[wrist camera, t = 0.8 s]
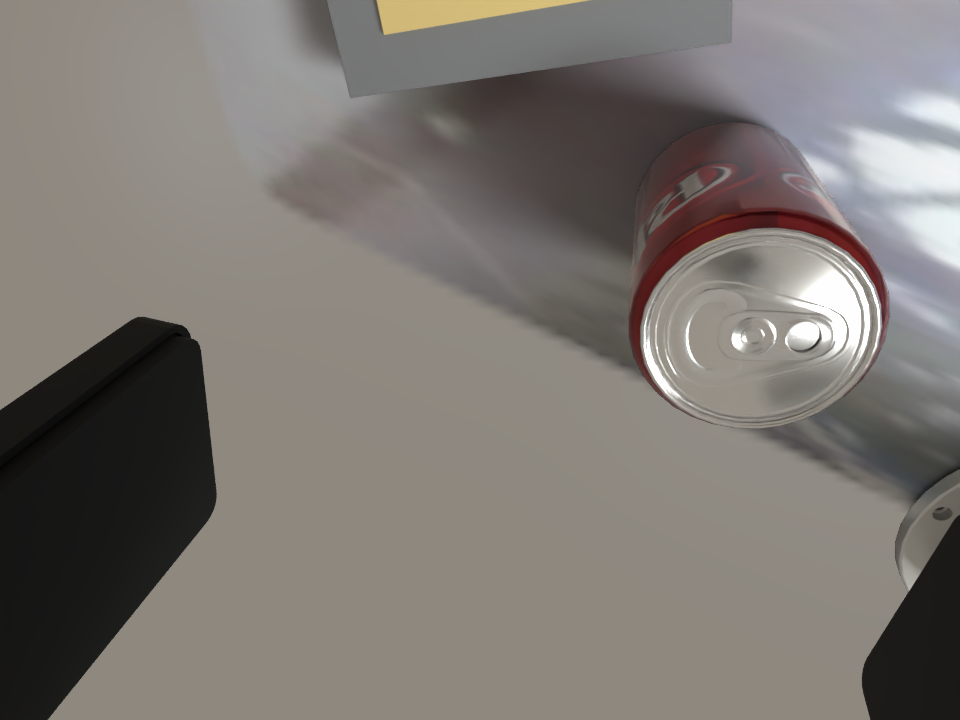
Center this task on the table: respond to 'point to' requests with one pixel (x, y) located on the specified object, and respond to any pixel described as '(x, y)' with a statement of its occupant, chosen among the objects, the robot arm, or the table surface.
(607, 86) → the table surface
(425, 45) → the dock
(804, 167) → the soda can
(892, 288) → the table surface
